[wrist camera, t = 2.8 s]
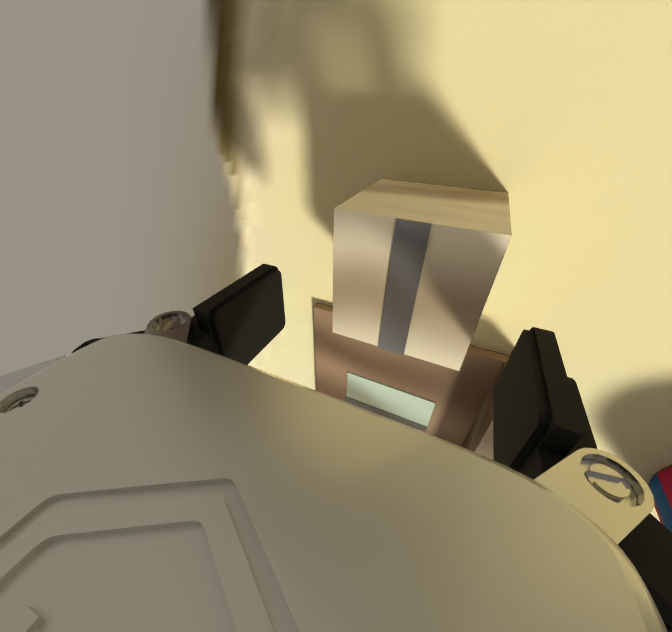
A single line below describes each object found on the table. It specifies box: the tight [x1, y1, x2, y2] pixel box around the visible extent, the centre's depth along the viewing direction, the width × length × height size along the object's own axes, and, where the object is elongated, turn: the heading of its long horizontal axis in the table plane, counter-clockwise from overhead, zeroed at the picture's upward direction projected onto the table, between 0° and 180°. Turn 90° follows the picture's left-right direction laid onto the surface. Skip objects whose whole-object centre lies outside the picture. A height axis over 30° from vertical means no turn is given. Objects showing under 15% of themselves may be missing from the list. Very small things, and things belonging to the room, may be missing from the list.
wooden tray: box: [313, 303, 510, 460], centre depth 24 cm, size 20×14×4 cm
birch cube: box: [333, 179, 512, 371], centre depth 14 cm, size 6×6×6 cm
